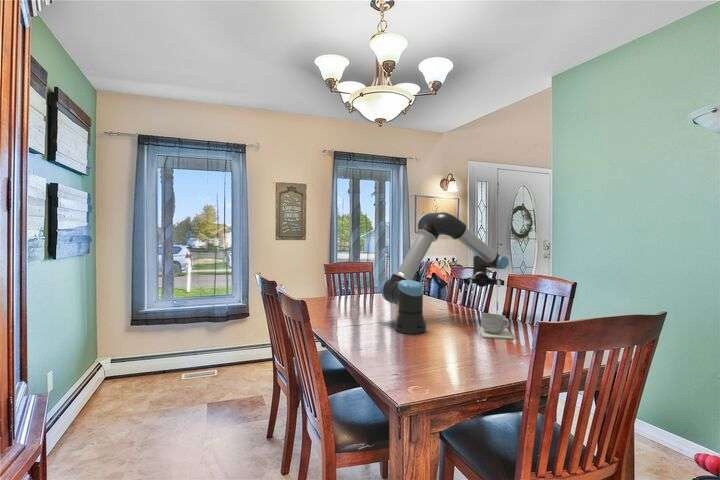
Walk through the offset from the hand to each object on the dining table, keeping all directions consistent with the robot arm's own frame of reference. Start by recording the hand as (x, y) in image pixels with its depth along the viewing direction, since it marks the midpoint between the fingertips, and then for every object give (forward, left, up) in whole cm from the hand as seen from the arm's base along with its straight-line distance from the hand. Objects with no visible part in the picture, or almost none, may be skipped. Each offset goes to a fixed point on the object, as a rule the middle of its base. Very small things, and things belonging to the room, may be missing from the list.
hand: (485, 283), depth 186 cm
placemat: (+3, -12, -22) cm, 25 cm away
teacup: (+3, -13, -21) cm, 25 cm away
